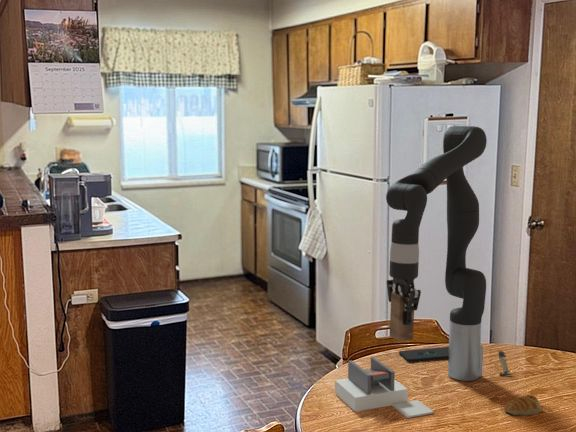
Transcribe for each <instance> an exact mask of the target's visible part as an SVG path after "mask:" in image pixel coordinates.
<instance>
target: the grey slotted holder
mask: <svg viewBox="0 0 576 432" xmlns="http://www.w3.org/2000/svg"><path fill="white" fill-rule="evenodd" d="M347 362H348V363H347V378H345V377H344V378H341V379H335V380H334V394H335V395H336V396H337V397H338V398H339V399H341V401H342V402H344V403H345V404H346V405H347V406H348V407H349V408H350V409H351V410H353V412H362V411H363V412H364V411H367V410H368V411H369V410H373V409H378V408H385V407H391V406H392V404H398V403H404V402H408V395H409V394H408V391H409V390H408V388H407V387H405V386H404V385H403V384H402V383H400V382H399V381H397V380H396V379H395V370H394V369H391V368H390V367H389V366H387V365H386V364H385V363H383V362H382V361H380V360H379V359H377V358H376V357H375V356H373V357H372V356H371V357H370V370H373V371H378V372H386V373H389V378H386V379H380V380H371V375H370V374H369V373H368V372H366V371H365V370H366V369H364V368H362V367H361V366H360V365H358V364H357V363H356V362H355V361H353V360H348V361H347Z"/></svg>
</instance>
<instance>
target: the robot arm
mask: <svg viewBox="0 0 576 432" xmlns="http://www.w3.org/2000/svg"><path fill="white" fill-rule="evenodd" d="M487 142H488V140H487V135H486V133H485V130H484V129H483V128H481V127H479V126H475V125H467V126H466V125H465V126H464V125H458V126H457V125H454V126H453V125H452V126H448V128H447V129H446V130H445V132H444V134H443V140H442V145H443V146H442V149H443V151H442V152H443V153H441V154H439V155H437V156H435V157H433V158H430V159H429V160H426V162H424V163H423V164H421V166H420V167H419V168H417V169H416V170H415V171H414V172H413V173H411V174H407V175H405V176H404V177H402V178H400V179H398V180H396V181H395V182H393V183H392V184H391V186H389V188H388V190H387V192H386V196H385V200H386V203H387V205H388V206H389V207H390V208H392V209H393V210H395V211H396V210H398V211H403V212H404V211H406V215H405V217H404V218H401V219H395V220H394V221H393V222H392V225H391V241H390V242H391V244H390V251H389V270H388V271H389V272H388V273H389V274H388V275H389V277H391V278H392V279H387V280H386V289H387V297H388V302H389V303H391V293H398V294H400V296H402V303H403V325H410V324H411V319H412V311H414V312H415V311H418V307H419V302H420V298H421V294H422V291H421V289H417V288H415V280H416V279H417V278H418V277H419V264H420V263H419V260H420V246H419V242H420V241H419V235H420V233H419V232H420V226H421V223H422V219H423V215H424V213H425V210H426V207H427V202H428V195H429V194H431V193H433V191H434V190H436V189H437V188H438V187H439V186H440V185H441V184H442V183H443V182H444V181H445V180H446V224H447V238H446V239H447V240H446V241H447V246H446V262H445V273H444V285H445V289H446V292H447V293H448V294H449V295H450V296H452V297H455V298H459V299H462V307H457V308H456V307H455V308H453V309H451V310H450V312H449V331H448V332H449V335H448V347H449V359H447V361H448V365H447V366H448V367H447V375H448V376H449V377H450V378H452V379H454V380H457V381H463V382H470V381H475V380H478V379H479V378H481V377H483V364H484V363H483V361H484V360H483V359H484V346H483V345H482V344H481V338H482V337H481V336H482V317H483V315H484V312H485V307H486V306H485V304H486V296H487V278H486V276H485V274H484V273H483V272H482V271H480V270H477V269H474V268H470V267H469V268H468V267H467V265H466V261H467V260H466V259H467V258H466V256H467V250H468V247H469V245H470V243H471V242H472V240H473V238H474V237H475V235H476V233H477V231H478V229H479V227H480V226H479V225H480V202H479V200H478V196H477V195H476V193H475V191H474V190H473V188H472V186H471V184H470V183H469V181H468V180H467V178H466V175H465V172H464V167H465V166H467V165H468V164H469V163H471V162H474V161H475V160H476V159H478V158H479V157H480V156H482V155H483V154H484V151H485V150H486V148H487ZM404 296H405V297H409V299H404ZM407 302H408V305H406V303H407ZM413 303H414V306H413Z"/></svg>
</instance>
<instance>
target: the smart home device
mask: <svg viewBox="0 0 576 432" xmlns="http://www.w3.org/2000/svg"><path fill="white" fill-rule="evenodd" d="M398 356H400V357H401V358H402V357H403V358H404V359H405V360H406V361H405V360H404V359H403V358H402V359H403V360H404V361H405V362H407V363H409V362H411V363H421V362H431V360H433V361H443V360H448V359H449V346H444V347H443V346H441V347H433V348H419V349H409V350H408V349H407V350H399V351H398ZM419 361H421V362H419Z"/></svg>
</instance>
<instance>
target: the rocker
mask: <svg viewBox="0 0 576 432" xmlns="http://www.w3.org/2000/svg"><path fill="white" fill-rule="evenodd" d="M364 370H365V371H366V372H368V373H369V374H370V375H371V380H380V379H386V378H389V373H386V372H378V371H373V370H371V369H364Z"/></svg>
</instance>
